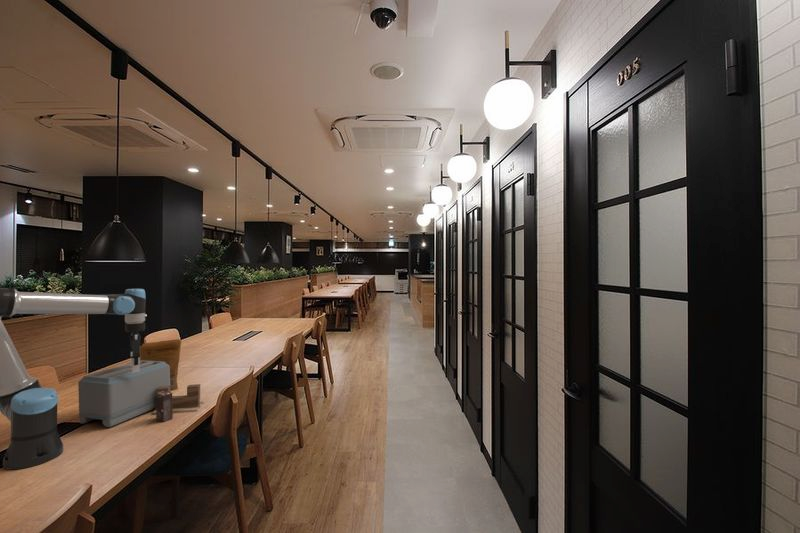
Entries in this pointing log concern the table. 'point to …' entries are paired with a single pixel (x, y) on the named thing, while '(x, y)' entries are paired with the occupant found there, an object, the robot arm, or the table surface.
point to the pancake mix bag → (164, 356)
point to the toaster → (121, 392)
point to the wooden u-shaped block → (184, 399)
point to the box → (164, 406)
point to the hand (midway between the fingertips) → (135, 368)
